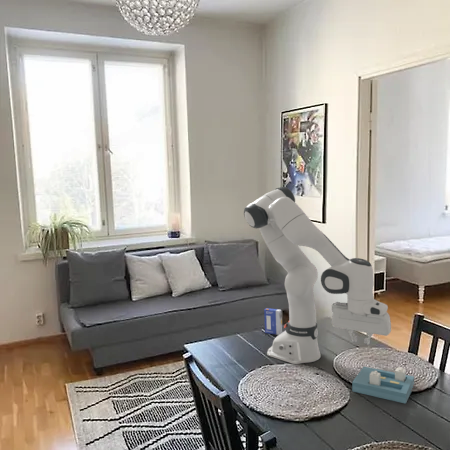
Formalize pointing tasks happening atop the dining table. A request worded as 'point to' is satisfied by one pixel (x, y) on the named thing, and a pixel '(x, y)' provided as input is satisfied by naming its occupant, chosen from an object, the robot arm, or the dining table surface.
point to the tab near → (375, 378)
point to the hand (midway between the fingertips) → (360, 342)
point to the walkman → (273, 321)
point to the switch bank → (383, 385)
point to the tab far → (400, 374)
